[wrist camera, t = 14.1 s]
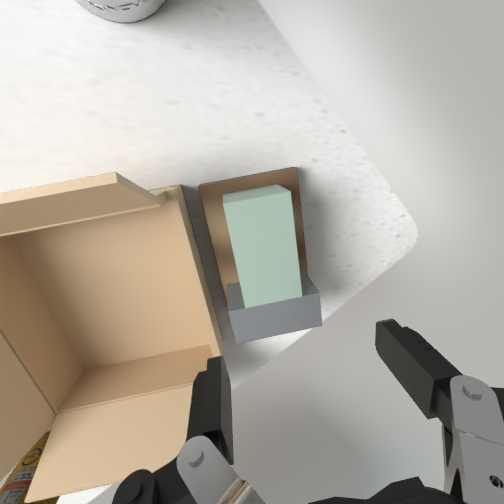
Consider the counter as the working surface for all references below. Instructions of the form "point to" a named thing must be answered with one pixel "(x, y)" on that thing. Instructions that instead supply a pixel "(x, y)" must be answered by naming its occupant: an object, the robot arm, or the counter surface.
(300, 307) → the box
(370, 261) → the counter surface
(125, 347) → the carton
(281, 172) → the board
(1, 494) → the condiment
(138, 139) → the counter surface
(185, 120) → the counter surface
